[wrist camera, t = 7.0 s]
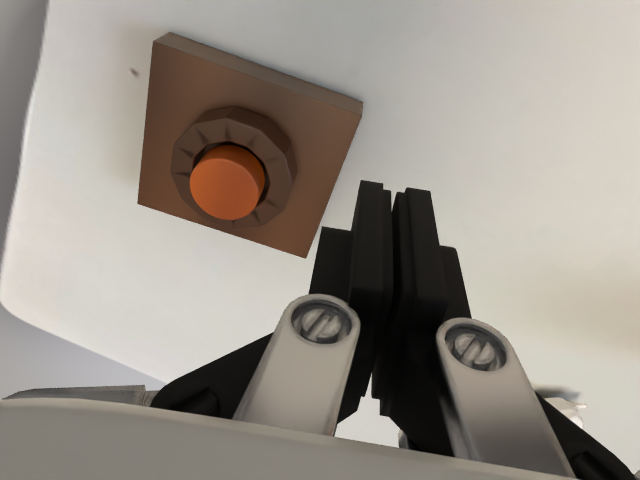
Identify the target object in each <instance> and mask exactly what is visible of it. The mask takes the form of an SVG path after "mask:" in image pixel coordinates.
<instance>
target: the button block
mask: <svg viewBox="0 0 640 480" xmlns="http://www.w3.org/2000/svg"><path fill="white" fill-rule="evenodd" d="M362 108H363V102H361V101H358V100H356V99H353V98H350V97H347V96H345V95H342V94H339V93H336V92H334V91H331V90H328V89H325V88H323V87H320V86H317V85H314V84H311V83H309V82H306V81H303V80H300V79H298V78H295V77H292V76H289V75H287V74H284V73H281V72H278V71H276V70H273V69H270V68H267V67H264V66H262V65H259V64H256V63H253V62H251V61H248V60H245V59H242V58H240V57H237V56H234V55H231V54H229V53H226V52H223V51H220V50H217V49H215V48H212V47H209V46H206V45H204V44H201V43H198V42H195V41H193V40H190V39H187V38H184V37H182V36H179V35H176V34H173V33H170V32H169V33H167V34H165V35H164V36H162V37H160V38H158V39H156V40H154V41H153V47H152V57H151V68H150V78H149V88H148V99H147V109H146V120H145V130H144V140H143V151H142V161H141V171H140V182H139V192H138V204H140V205H143V206H146V207H149V208H152V209H155V210H158V211H161V212H164V213H167V214H170V215H173V216H176V217H180V218H183V219H186V220H189V221H192V222H195V223H198V224H201V225H204V226H207V227H210V228H213V229H216V230H219V231H223V232H226V233H229V234H232V235H235V236H238V237H241V238H244V239H247V240H250V241H253V242H256V243H259V244H262V245H266V246H269V247H272V248H275V249H278V250H281V251H284V252H287V253H290V254H293V255H296V256H299V257H302V258H306V257H307V255H308V252H309V250H310V247H311V245H312V242H313V239H314V237H315V234H316V232H317V229H318V227H319V224H320V222H321V219H322V216H323V214H324V211H325V209H326V206H327V204H328V201H329V199H330V196H331V193H332V191H333V188H334V186H335V183H336V181H337V178H338V175H339V173H340V170H341V168H342V165H343V163H344V160H345V158H346V155H347V152H348V150H349V147H350V145H351V142H352V140H353V137H354V135H355V132H356V129H357V127H358V124H359V122H360V119H361V117H362ZM220 145H235V146H238V147H241V148H243V149H245V150H247V151H249V152H250V153H251V154H252V155H254V156H255V157H256V159H257V160H258V161H259V162H260V164H261V166H262V168H263V171H264V175H265V185H264V188H263V191H262V193H261V195H260V198H259V200H258V202H257V205H256V206H255V208H254V209H253V211H252V212H251V213H249V214H248V215H247V216H245V217H242V218H239V219H235V220H225V219H220V218H217V217H214V216H212V215H210V214H208V213H207V212H205V211H204V210H203V209H202V208H201V207H200V206H199V205H198V204H197V203H196V201H195V200H194V198H193V196H192V193H191V190H190V176H191V173H192V171H193V170H194V168H195V167H196V165H197V164H198V163H199V161H200V160H201V159H202V157H203V156H204V155H205V154H206V153H207V152H208V151H209V150H210V149H212V148H214V147H216V146H220Z"/></svg>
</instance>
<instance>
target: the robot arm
mask: <svg viewBox="0 0 640 480" xmlns="http://www.w3.org/2000/svg"><path fill="white" fill-rule="evenodd" d="M371 373H372V389H371V395H372V398H374V399H380V415H382V416H388V417H390V418H391V420H392V421H393V422H394V423H395V424H396V425H397V426H398V427H399V428H400V431H399V433H398V437H399V448H396V447H390V446H384V445H378V444H373V443H367V442H361V441H355V440H349V439H343V438H337V437H334V436H335V432H336V428H337V424H338V423H340V422H341V421H343V420H344V419H346V418H347V417H349V416H350V415H352V414H353V413H354V412H356V411H357V409H358V406H359V402H360V399H361V396H362V397H364V396H365V394H366V391H367V387H368V384H369V380H370V377H371ZM0 480H640V470H639V471H638V472H637V473H636V474H635V475H634V474H632V473H631V472H630V470H629V469H628V467H627V466H626V465H625V464H624V463H623V462H621V461H620V460H619V459H618V458H617V457H616V456H615V455H614V454H613V453H612V452H610V451H609V450H608V449H606V448H605V447H604V446H603V445H601V444H600V443H599V442H598V441H596V440H595V439H594V438H593V437H591V436H590V435H589V434H588V433H586V432H585V431H584V430H583V429H581V428H580V427H579V426H578V425H576V424H575V423H574V422H572V421H571V420H570V419H569V418H567V417H566V416H565V415H564V414H562V413H561V412H560V411H559V410H557V409H556V408H555V407H554V406H552V405H551V404H550V403H549V402H547V401H546V400H545V399H544V398H542V397H541V396H540V395H538V394H537V393H536V392H535V391H534V390H533V388H532V386H531V384H530V382H529V379H528V377H527V375H526V373H525V371H524V369H523V367H522V365H521V363H520V361H519V359H518V357H517V355H516V353H515V351H514V348H513V347H512V345H511V344H510V342H509V341H508V339H507V338H506V337H505V336H504V335H502V334H501V333H500V332H499V331H498V330H496V329H495V328H493V327H492V326H490V325H488V324H486V323H484V322H481V321H478V320H476V319H472V318H471V313H470V309H469V304H468V300H467V295H466V291H465V286H464V281H463V277H462V272H461V268H460V263H459V259H458V254H457V251H456V249H455V248H453V247H447V246H441V245H439V239H438V234H437V228H436V222H435V216H434V210H433V205H432V199H431V193H430V191H427V190H421V189H414V188H408V187H407V188H406V190H405V193H402V192H397V194H396V197H395V201H394V205H393V209H392V211H391V191H389V190H383V183H376V182H370V181H364V180H361V181H360V186H359V191H358V196H357V202H356V207H355V212H354V217H353V223H352V228H351V231H348V230H342V229H335V228H329V227H323V226H322V229H321V234H320V239H319V244H318V249H317V254H316V259H315V264H314V269H313V274H312V279H311V284H310V289H309V294H308V295H305V296H302V297H298V298H297V299H295V300H294V301H292V302H291V303H290V304H289V305H288V306H287V308H286V309H285V310H284V312H283V314H282V316H281V318H280V321H279V323H278V325H277V327H276V329H275V331H274V332H273V333H271V334H269V335H267V336H264V337H262V338H260V339H258V340H256V341H254V342H252V343H250V344H248V345H246V346H244V347H242V348H240V349H238V350H235V351H233V352H231V353H229V354H227V355H225V356H223V357H221V358H219V359H217V360H215V361H213V362H211V363H208V364H206V365H204V366H202V367H200V368H198V369H196V370H194V371H192V372H190V373H188V374H186V375H184V376H182V377H179V378H177V379H175V380H174V381H172V382H171V383H169V384H167V385H166V386H164V387H163V388H162V389H161V390H159V391H146V390H145V385H131V386H102V387H74V388H45V389H31V390H25V391H20V392H17V393H14V394H12V395H10V396H8V397H6V398H3V399H1V400H0Z"/></svg>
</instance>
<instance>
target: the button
mask: <svg viewBox="0 0 640 480" xmlns="http://www.w3.org/2000/svg"><path fill="white" fill-rule="evenodd" d="M264 185H265V175H264V171H263V168H262V166H261V164H260V162H259V161H258V160H257V159H256V157H255V156H254V155H252V154H251V153H250V152H249V151H247V150H245V149H243V148H241V147H238V146H235V145H220V146H216V147H214V148H212V149H210V150H209V151H208V152H207V153H206V154H205V155H204V156H203V157H202V159H201V160H200V161H199V163H198V164H197V165H196V167H195V168H194V170H193V171H192V173H191V176H190V190H191V193H192V196H193V198H194V200H195V201H196V203H197V204H198V205H199V206H200V207H201V208H202V209H203V210H204V211H205V212H207V213H208V214H210V215H212V216H214V217H217V218H220V219H225V220H235V219H239V218H242V217H245V216H247V215H248V214H249V213H251V212H252V211H253V209H254V208H255V206H256V205H257V202H258V200H259V198H260V195H261V193H262V191H263V188H264Z"/></svg>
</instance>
